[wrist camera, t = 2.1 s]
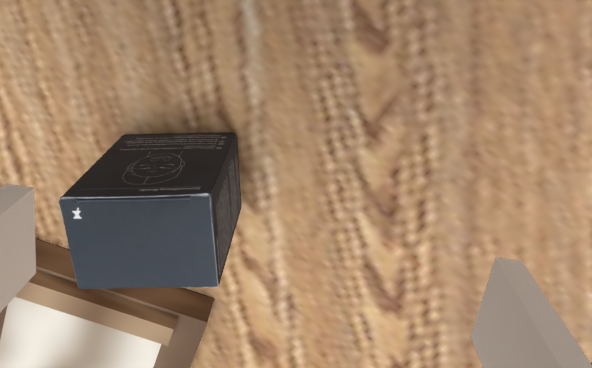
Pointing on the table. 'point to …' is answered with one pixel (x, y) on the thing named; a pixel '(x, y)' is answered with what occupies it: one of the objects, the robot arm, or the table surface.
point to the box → (155, 212)
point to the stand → (97, 322)
